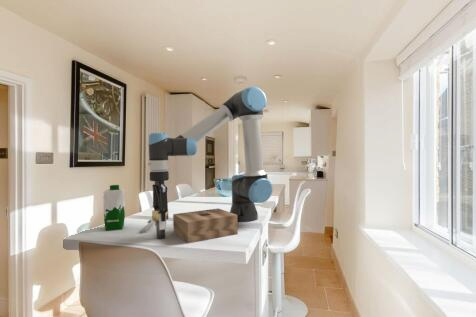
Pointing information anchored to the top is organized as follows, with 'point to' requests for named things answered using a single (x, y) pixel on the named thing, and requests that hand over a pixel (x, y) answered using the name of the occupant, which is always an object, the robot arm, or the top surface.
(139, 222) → the top surface
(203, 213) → the block
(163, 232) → the pin
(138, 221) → the top surface
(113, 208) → the milk carton
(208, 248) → the top surface
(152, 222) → the adjustable wrench
